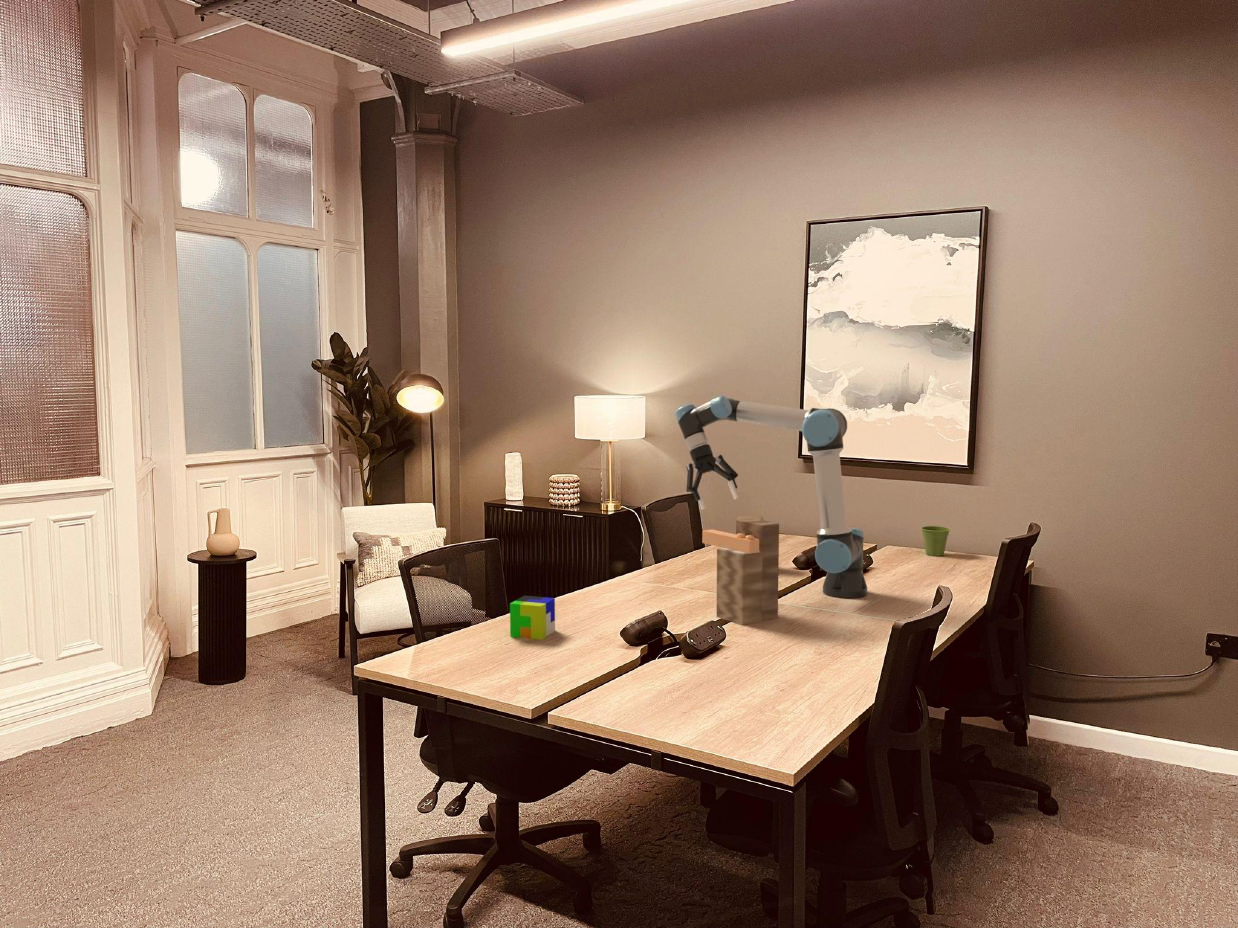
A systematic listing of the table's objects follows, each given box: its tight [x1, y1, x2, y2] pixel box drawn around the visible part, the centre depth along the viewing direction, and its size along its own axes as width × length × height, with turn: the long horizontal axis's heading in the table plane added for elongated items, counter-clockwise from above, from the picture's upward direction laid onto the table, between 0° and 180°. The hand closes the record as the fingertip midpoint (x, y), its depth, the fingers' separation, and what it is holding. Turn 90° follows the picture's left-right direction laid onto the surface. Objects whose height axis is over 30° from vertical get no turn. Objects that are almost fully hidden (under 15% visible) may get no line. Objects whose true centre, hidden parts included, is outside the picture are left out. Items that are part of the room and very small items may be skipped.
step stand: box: [716, 518, 780, 626], centre depth 291 cm, size 12×15×30 cm
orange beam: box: [701, 528, 759, 554], centre depth 291 cm, size 22×4×5 cm, turn 35°
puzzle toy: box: [509, 595, 556, 641], centre depth 275 cm, size 10×10×10 cm
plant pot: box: [920, 525, 951, 557], centre depth 387 cm, size 12×12×11 cm
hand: (720, 503), depth 323 cm, fingers open, 13 cm apart
